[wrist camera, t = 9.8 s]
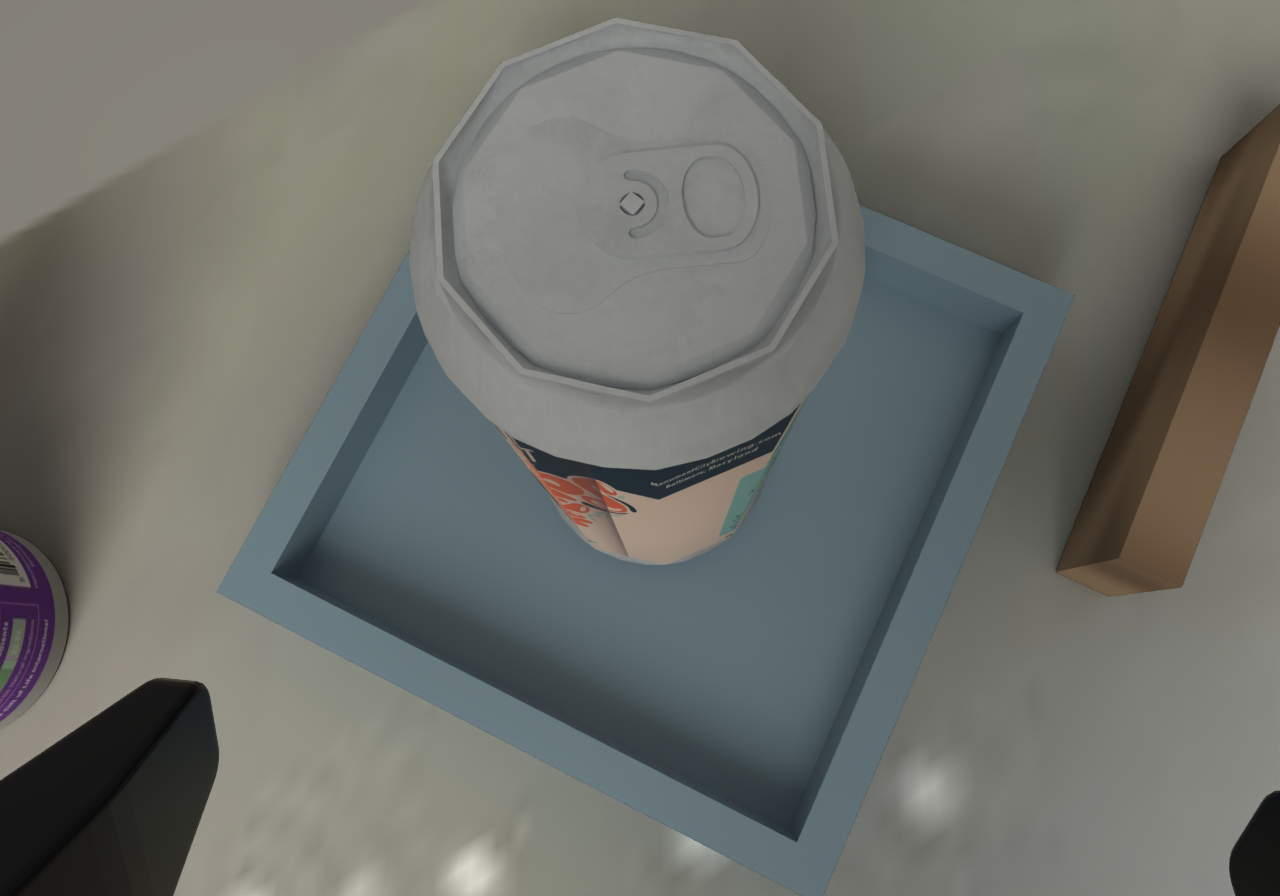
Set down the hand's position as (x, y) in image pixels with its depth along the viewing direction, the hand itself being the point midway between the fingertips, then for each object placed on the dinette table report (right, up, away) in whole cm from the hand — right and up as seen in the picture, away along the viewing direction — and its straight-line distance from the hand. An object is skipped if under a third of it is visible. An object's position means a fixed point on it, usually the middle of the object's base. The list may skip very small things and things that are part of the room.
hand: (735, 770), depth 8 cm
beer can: (0, +2, +13) cm, 13 cm away
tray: (0, +2, +13) cm, 14 cm away
